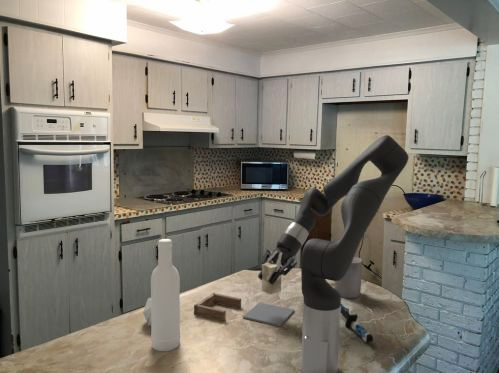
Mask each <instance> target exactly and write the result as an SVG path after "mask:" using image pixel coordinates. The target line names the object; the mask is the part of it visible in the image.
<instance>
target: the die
mask: <svg viewBox="0 0 499 373" xmlns="http://www.w3.org/2000/svg"><path fill="white" fill-rule="evenodd" d="M142 314H143V316H144V318H145V321H146V323H147V325H148V326H149V327H151V297H149V298H147V301H146V303H145V305H144V308H143V310H142Z"/></svg>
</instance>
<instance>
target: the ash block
mask: <svg viewBox="0 0 499 373" xmlns="http://www.w3.org/2000/svg"><path fill="white" fill-rule="evenodd" d="M271 262H272V263H265V264H261V270H262V280H261V291H263V292H264V293H266V294H269V295H270V296H271V295H274V294H277V293H281V292H282V275H281V276H279V277H278V279H277V280H276V282H275V283H274V284H273V285H272V284H270V283H269V282H268V279H269V278H270V276H271V275H272V274H273V272H275V269H276V267H277V266H276V263H274V262H273V261H271ZM279 269H281V268H279Z"/></svg>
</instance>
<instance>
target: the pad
mask: <svg viewBox="0 0 499 373" xmlns="http://www.w3.org/2000/svg"><path fill="white" fill-rule="evenodd" d="M294 312H295V308H289V307H285V306H279V305H274V304H268V303H264V302H257V304H255V306H253V307H252V308H251V309H250V310H248V312H246V313H245V314H244V315H243V316H242V319H245V320H249V321H254V322H259V323H264V324H267V325H268V324H269V325H272V326H277V327H282V326H283V324H285V322H286V321H287V320H288V319H289V318H290V317H291V316H292V314H293V313H294Z"/></svg>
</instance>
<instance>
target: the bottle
mask: <svg viewBox="0 0 499 373" xmlns="http://www.w3.org/2000/svg"><path fill="white" fill-rule="evenodd" d="M157 249H158V253H157V254H158V259H157V260H158V261H157V262H158V265H157V266H156V267H155V268H154V269H153V271H152V273H151V276H150V298H151V325H150V327H151V332H150V333H151V335H150V336H151V337H150V341H151V348H152V349H153V350H155V351H158V352H170V351H174V350H175V349H177V348H179V346H180V342H181V330H180V328H181V320H180V319H181V316H180V315H181V314H180V313H181V310H180V309H181V308H180V307H181V302H180V300H181V298H180V297H181V296H180V295H181V294H180V291H181V290H180V289H181V287H180V285H181V281H180V279H181V277H180V274H179V271H178V269H177V268H176V267H175V266H174V265H173V241H172V239H171V238H162V239H161V238H160V239H159V240H158V243H157Z"/></svg>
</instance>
